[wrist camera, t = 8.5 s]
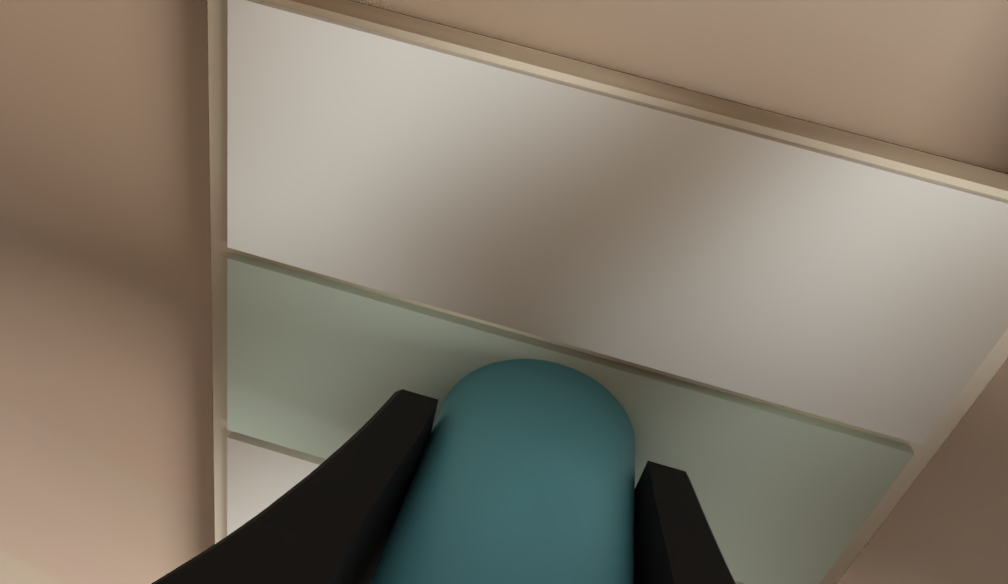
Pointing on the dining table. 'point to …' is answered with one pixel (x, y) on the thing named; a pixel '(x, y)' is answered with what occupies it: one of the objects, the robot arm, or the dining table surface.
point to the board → (586, 269)
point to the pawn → (520, 485)
